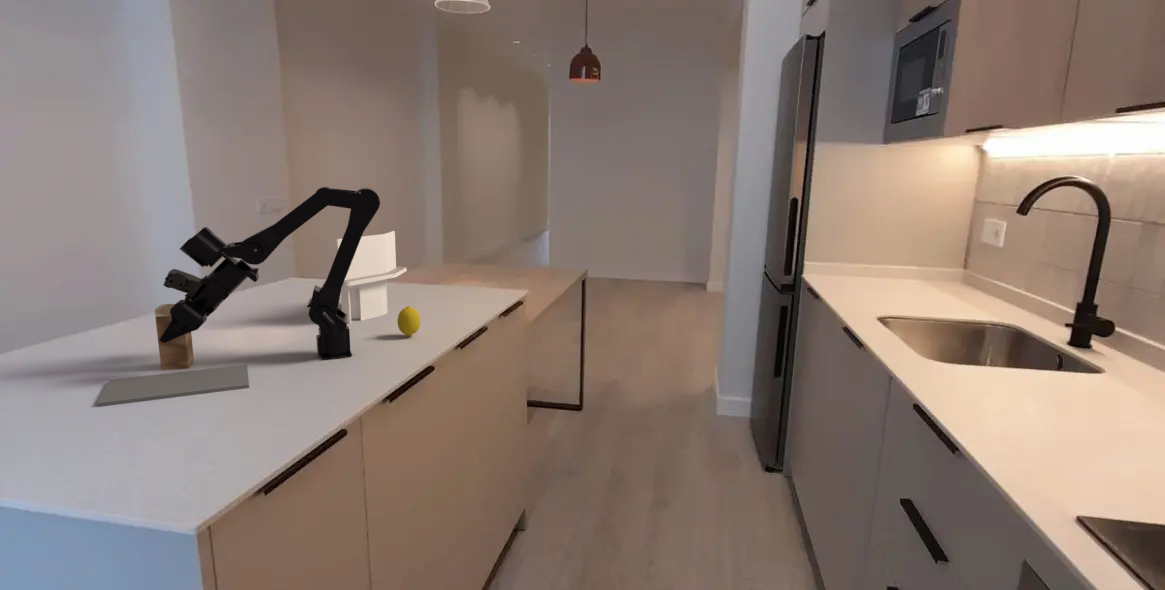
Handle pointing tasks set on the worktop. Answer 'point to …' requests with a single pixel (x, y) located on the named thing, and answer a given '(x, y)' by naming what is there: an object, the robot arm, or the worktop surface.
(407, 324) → the lemon
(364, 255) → the architectural model
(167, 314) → the walnut block
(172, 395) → the slate mat
